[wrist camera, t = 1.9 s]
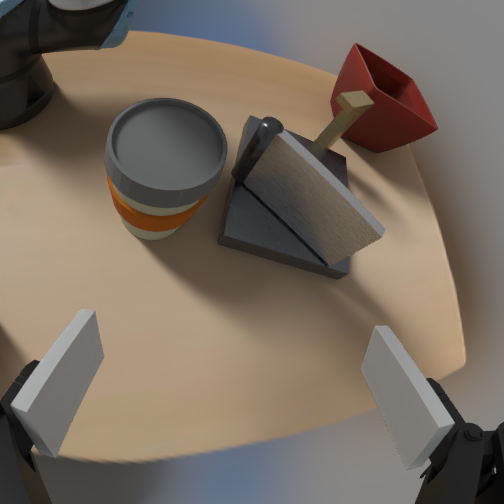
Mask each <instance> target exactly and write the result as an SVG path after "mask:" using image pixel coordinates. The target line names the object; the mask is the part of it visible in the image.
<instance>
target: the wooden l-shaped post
mask: <svg viewBox="0 0 504 504" xmlns="http://www.w3.org/2000/svg"><path fill="white" fill-rule="evenodd" d="M335 100H336V101H337V102H338V103H339V104H340V105H341V106H342V107H343V109H342V110H341V111H340V113H339V114H338V115H337V116H336V117H335V118H334V119H333V121H332V122H331V123H330V124H329V125H328V126H327V127H326V128H325V130H324V131H323V132H322V133H321V134H320V135H319V137H318V138H317V139H316V140H315V141H314V142H315V143H317V144H319V145H320V146H321V148H322V149H323V150H324V149H327V148H328V149H329V148H330V147H331V146H332V145H333V144H334V143H335V142H336V141H337V140H338V139H339V138H340V137H341V136H342V135H343V133H344V132H345V131H346V130H347V129H348V128H349V127H350V126H351V125H352V124H353V123H354V122H355V121H356V120H357V119H358V118H359V117H360V116H361V115H362V114H363V113H364V112H365V111H366V110H367V109H369V108H370V107H371V106H372V105H373V104H374V103H373V101H372V100H371V99H370V97H369V96H368V95H367V94H366V93H365V92H363V90H362V91H353V92H345V93H340V94H339V96H338V97H337V98H336V99H335Z"/></svg>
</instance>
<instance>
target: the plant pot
mask: <svg viewBox="0 0 504 504" xmlns="http://www.w3.org/2000/svg"><path fill="white" fill-rule="evenodd" d="M362 90H363V92H365V93H366V94H367V95H368V96H369V97H370V99H371V100H372V101H373V103H374V104H373V105H372V106H371V107H370V108H369V109H367V110H366V111H365V112H364V113H363V114H362V115H361V116H360V117H359V118H358V119H357V120H356V121H355V122H354V123H353V124H352V125H351V126H350V127H349V128H348V129H347V130H346V131H345V132H344V133H343V135H342V137H344V138H346V139H349V140H351V141H353V142H355V143H357V144H359V145H361V146H363V147H366V148H368V149H370V150H372V151H374V152H376V153H380V152H384V151H388V150H391V149H394V148H397V147H400V146H403V145H406V144H409V143H411V142H413V141H416V140H418V139H420V138H422V137H425V136H427V135H429V134H431V133H432V132H434V131H436V130H437V129H438V127H437V125H436V122H435V120H434V118H433V116H432V114H431V112H430V110H429V108H428V106H427V104H426V102H425V100H424V98H423V96H422V95H421V93H420V91H419V89H418V87H417V86H416V84H415V82H414V81H413V79H411V78H410V77H409V76H408V75H406V74H405V73H403V72H402V71H401V70H399V69H398V68H396V67H395V66H393V65H392V64H390V63H389V62H387V61H385V60H384V59H382V58H381V57H379V56H377V55H376V54H374V53H373V52H371V51H370V50H368V49H366V48H364V47H363V46H361V45H359V44H357V43H355V44H354V45H353V47H352V48H351V50H350V52H349V54H348V56H347V58H346V60H345V62H344V64H343V67H342V69H341V71H340V74H339V76H338V78H337V81H336V84H335V87H334V90H333V93H332V97H331V101H330V102H331V106H332V111H333V116H334V118H335V117H336V116H337V115H338V114H339V113H340V111H341V110H342V109H343V107H342V106H341V105H340V104H339V103H338V102H337V101H336V100H335V99H336V98H337V97H338V96H339V94H340V93H345V92H353V91H362Z"/></svg>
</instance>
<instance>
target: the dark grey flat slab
mask: <svg viewBox="0 0 504 504" xmlns="http://www.w3.org/2000/svg"><path fill="white" fill-rule="evenodd" d="M261 121H262V119H259V118H256V117H254V116H251V115H250V116H249V118H248V120H247V122H246V123H245V125H244V128H243V132H242V136H241V141H240V145H239V149H238V153H237V158H236V162H235V164H236V163H237V161H238V159H239V158H240V156H241V154H242V153H243V151H244V149H245V148H246V146H247V144H248V143H249V141H250V139H251V138H252V136H253V134H254V133H255V131H256V130H257V128H258V126H259V125H260V123H261ZM284 130H286V129H284ZM286 131H287V132H288V133H289V134H290V135H291V136H292V137H293V138H295V139H296V140H297V141H298V142H299V143H300V144H301V145H302V146H303V147H305V148H306V149H307V150H308V151H309V152H310V153H311V154H312V155H313V156H314V157H315V158H316V159H317V160H318V161H320V162H321V163H322V164H323V165H324V166H325V167H326V168H327V169H328V170H329V171H330V172H331V173H332V174H333V175H334V176H335V177H336V178H337V179H338V180H339V181H340V182H341V183H342V184H343V185H344V186H345V187H346V188H347V189H348V184H347V167H346V157H344V156H342V155H340V154H338V153H336V152H334V151H332V150H330V149H328V148H327V149H324V150H323V149H322V148H321V146H320V145H319V144H317V143H315V142H313V141H311V140H309V139H306V138H304V137H302V136H300V135H297V134H295V133H293V132H290V131H288V130H286ZM218 244H220V245H223V246H226V247H230V248H233V249H236V250H240V251H243V252H247V253H250V254H253V255H257V256H260V257H263V258H267V259H270V260H273V261H277V262H280V263H284V264H287V265H290V266H294V267H297V268H300V269H304V270H307V271H311V272H314V273H317V274H321V275H324V276H327V277H331V278H334V279H339V278H342V277H344V276H346V275H348V274H349V256H348V257H346V258H345V259H343V260H341V261H339V262H337V263H335V264H334V265H332V266H329V265H328V264H327V263H326V262H325V261H324V260H323V259H322V258H321V257H320V256H319V255H318V254H317V253H316V252H315V251H314V250H313V249H312V248H311V247H310V246H309V245H308V244H307V243H306V242H305V241H304V240H303V239H302V238H301V237H300V236H299V235H298V234H297V233H296V232H295V231H294V230H293V229H292V228H291V227H290V226H289V225H288V224H286V223H285V222H284V221H283V220H282V219H281V218H280V217H279V216H278V215H277V214H276V213H275V212H274V211H273V210H272V209H271V208H270V207H269V206H268V205H266V204H265V203H264V202H263V201H262V200H261V199H260V198H259V197H258V196H257V195H256V194H255V193H254V192H253V191H251V190H250V189H249V188H248V187H247V186H246V185H245V184H244V183H240V182H238V181H236V180H235V179H234V178H233V177H232V179H231V184H230V188H229V193H228V197H227V202H226V206H225V211H224V215H223V220H222V225H221V229H220V234H219V239H218Z"/></svg>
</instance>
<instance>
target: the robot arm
mask: <svg viewBox="0 0 504 504" xmlns="http://www.w3.org/2000/svg"><path fill="white" fill-rule="evenodd" d="M138 1H139V0H0V129H6V128H11V127H14V126H17V125H19V124H22V123H24V122H26V121H27V120H29V119H31V118H32V117H34V116H35V115H36V114H38V113H39V112H40V111H41V110H42V109H43V108H44V107H45V106H46V105H47V103H48V102H49V101H50V99H51V97H52V94H53V90H54V86H53V77H52V74H51V72H50V70H49V68H48V66H47V64H46V63H45V61H44V59H43V57H42V54H43V53H51V52H61V51H75V50H99V49H102V48H114V47H117V46H119V45H120V44H122V43H123V41H124V40H125V38H126V36H127V34H128V31H129V28H130V26H131V23H132V19H133V14H134V13H135V10H136V7H137V4H138ZM103 358H104V353H103V348H102V344H101V339H100V334H99V329H98V324H97V319H96V313H95V311H94V310H87V309H81V310H80V311H79V312H78V313H77V315H76V316H75V317H74V318H73V320H72V321H71V322H70V323H69V325H68V326H67V327H66V328H65V330H64V331H63V332H62V334H61V335H60V336H59V337H58V339H57V340H56V341H55V343H54V344H53V345H52V347H51V348H50V349H49V351H48V352H47V353H46V355H45V356H44V357H43V359H42V360H41V361H37V360H34V361H32V362H31V363H29V364H28V365H26V366H25V367H24V369H23V370H22V371H21V373H20V376H18V377H17V378H16V380H15V382H13V384H12V385H11V387H10V388H9V389H8V391H7V392H6V394H5V395H4V397H3V398H2V400H1V401H0V504H52V502H51V500H50V498H49V495H48V493H47V491H46V488H45V486H44V483H43V481H42V478H41V475H40V472H39V470H38V467H37V464H36V461H35V458H34V455H33V453H32V451H31V448H32V446H33V444H34V445H35V447H36V448H37V450H38V451H39V453H42V454H45V455H47V456H50V457H53V458H56V456H57V454H58V451H59V449H60V447H61V444H62V442H63V440H64V438H65V436H66V433H67V431H68V429H69V427H70V425H71V422H72V420H73V418H74V416H75V414H76V412H77V410H78V408H79V406H80V404H81V402H82V399H83V397H84V395H85V393H86V391H87V389H88V387H89V385H90V383H91V381H92V380H93V378H94V376H95V374H96V372H97V370H98V368H99V366H100V364H101V362H102V360H103ZM360 371H361V373H362V375H363V377H364V379H365V381H366V383H367V385H368V387H369V389H370V391H371V394H372V396H373V398H374V400H375V402H376V404H377V406H378V408H379V410H380V413H381V415H382V417H383V419H384V421H385V423H386V426H387V428H388V430H389V432H390V434H391V436H392V439H393V441H394V443H395V445H396V448H397V450H398V452H399V454H400V457H401V459H402V461H403V464H404V466H405V468H406V470H410V469H413V468H416V467H420V466H422V465H423V464H424V463H425V461H426V460H427V459H428V458H429V459H430V461H431V464H430V466H429V467H428V468H427V469H426V470H425V471H424V472H423V473H422V475H421V476H420V478H423V477H424V475H425V474H426V476H425V479H424V481H423V484H422V487H421V489H420V492H419V494H418V497H417V499H416V502H415V504H504V422H503V423H501V424H500V425H499V426H498V428H497V429H496V430H495V431H483V430H482V429H481V428H480V427H479V426H477V425H475V424H473V423H466V422H465V421H464V420H463V418H462V417H461V415H460V414H459V412H458V411H457V409H456V408H455V406H454V405H453V403H452V402H451V401H450V400H449V398H448V396H447V394H445V392H444V390H443V389H442V388H441V386H440V384H438V383H437V382H436V381H434V380H433V379H432V378H427V379H426V378H425V377H424V375H423V374H422V372H421V371H420V370H419V368H418V367H417V365H416V364H415V362H414V361H413V360H412V358H411V357H410V355H409V354H408V353H407V351H406V350H405V348H404V347H403V346H402V344H401V343H400V341H399V340H398V339H397V337H396V336H395V334H394V333H393V332H392V330H391V329H390V328H389V326H388V325H386V326H374V329H373V332H372V335H371V338H370V341H369V344H368V348H367V350H366V353H365V356H364V359H363V362H362V365H361V368H360ZM495 467H496V474H495V472H494V468H495Z"/></svg>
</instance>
